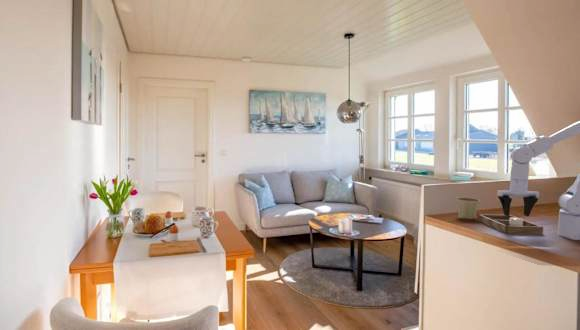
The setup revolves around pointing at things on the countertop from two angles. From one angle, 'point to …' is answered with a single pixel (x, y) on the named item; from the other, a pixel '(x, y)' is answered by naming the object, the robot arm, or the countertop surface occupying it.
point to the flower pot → (467, 207)
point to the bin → (503, 224)
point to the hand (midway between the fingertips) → (516, 215)
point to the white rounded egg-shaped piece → (515, 221)
